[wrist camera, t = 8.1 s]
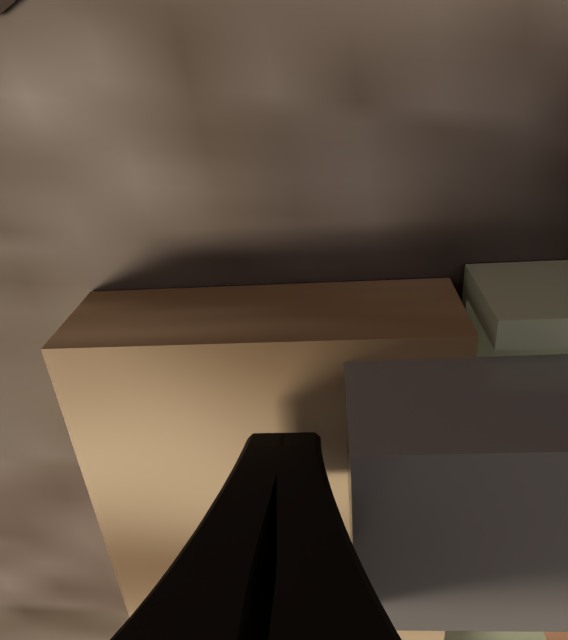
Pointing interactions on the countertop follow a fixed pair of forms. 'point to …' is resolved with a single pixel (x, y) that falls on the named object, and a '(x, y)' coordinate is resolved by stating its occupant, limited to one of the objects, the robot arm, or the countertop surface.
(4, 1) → the flask
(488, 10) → the countertop surface
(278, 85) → the countertop surface
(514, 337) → the box
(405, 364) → the slate tile
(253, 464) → the robot arm
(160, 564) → the birch plate
